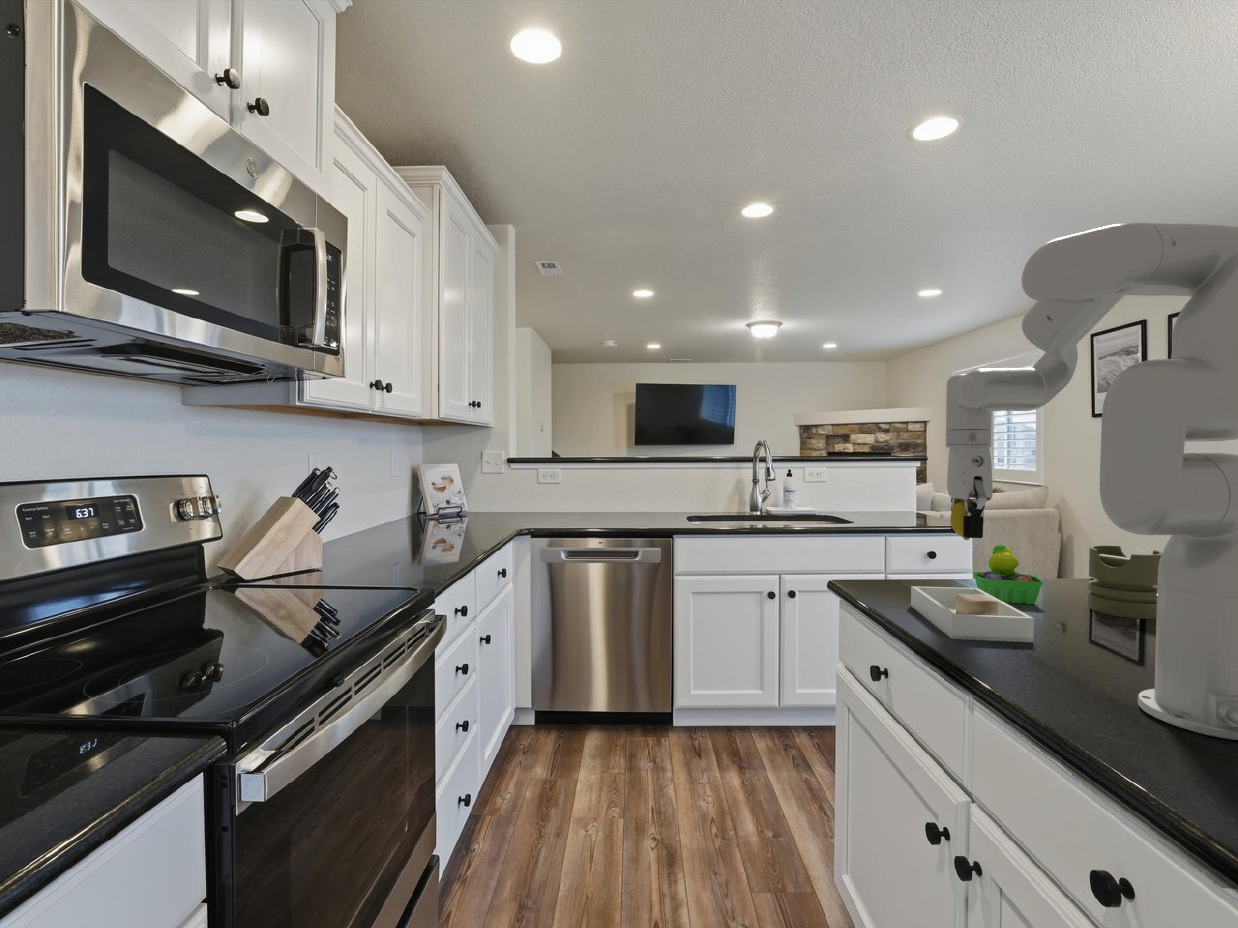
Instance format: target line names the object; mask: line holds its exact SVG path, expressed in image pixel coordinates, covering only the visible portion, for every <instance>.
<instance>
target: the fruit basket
mask: <svg viewBox="0 0 1238 928" xmlns="http://www.w3.org/2000/svg"><path fill="white" fill-rule="evenodd" d="M1019 563H1020V562H1019V559H1018V558H1017V556H1016V555H1015V554H1014V553H1013V551H1012V550H1011V548H1009V547H1007V546H1006V545H1005V544H996V545H995V546H994V547H993V549H992V553H991V555H990V556H989V559H988V567H989V568H990V570H988V571H982V572H981V571H975V572H972V576H973V578H974V580H975V583H976V588H979V589H980V590H982V591H984V592H986V593H988V594H990V595H992V596H993V597H995V598H997V599H999V600H1001V601H1003V602H1005V603H1006V604H1013V603H1025V604H1024V605H1030V604H1035V605H1036V602H1037V600H1038V596H1039V593H1040V590H1041V588H1042V586H1043V584H1044V581H1043V580H1041V578H1038V577H1037V576H1035V575H1034V574H1028V573H1020V572H1016V571H1015V569H1017V567H1019Z"/></svg>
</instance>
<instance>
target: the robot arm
mask: <svg viewBox="0 0 1238 928" xmlns="http://www.w3.org/2000/svg"><path fill="white" fill-rule="evenodd" d="M1021 287H1022V290H1023V292H1024V293H1025V295H1026V296H1027V297H1029V298H1030V299H1032V300H1034V301H1036V302H1035V303H1034V304H1033V306H1032V307H1031V308H1030V309H1029V310H1028V311H1027V313H1026V314H1025V315H1024V317H1023V319H1022V322H1021V330H1022V332H1023V335H1024V336H1025V337H1026V339H1027V340H1028V341H1029V342H1030V343H1031V344H1032V345H1033V346H1035V347H1036V348H1038V349H1039V350H1041V351H1042V352H1044V353H1043V355H1042V356H1041V357H1040V358H1039V359H1038V360H1037V361H1036V363H1034V364H1033V365H1032V366H1030V367H1029V368H1026V367H1025V368H1022V367H1020V368H1019V367H1013V368H1012V367H1001V368H1000V367H999V368H996V367H993V368H992V367H991V368H989V367H986V368H984V367H983V368H977V369H973V370H971V371H970V372H968V373H962V374H954V375H951V376H950V377H949V378H948V379H947V381H946V410H945V412H946V413H945V414H946V415H945V448H949V452H948V461H947V462H948V463H947V473H946V474H947V475H946V477H947V479H946V484H947V485H946V489H947V490H946V492H947V495H948V496H949V497H950V503H951V505H950V511H951V512H952V509H953V507H954V506H955V505H956V504H957V503H958V502H960V501H963V500H964V503H965V512H966V516H964V518H963V536H964V537H965V538H970V539H983V537H984V524H983V516H984V517H985V507H986V503H987V501H988V502H990V501H991V499H993V494H994V493H993V466H992V458H991V457H992V455H991V451H990V448H992V424H993V423H992V419H993V418H992V417H993V414H992V412H1003V411H1004V412H1010V411H1011V412H1030V411H1035V410H1038V409H1040V408H1042V407H1043V406H1045V405H1047V404H1048V403H1049V402H1051V401H1052V400H1053V399H1054V398H1055V397H1056V396H1057V395H1058V394H1059V393H1060V392H1062V390H1064V389H1065V388H1066V387H1067V385H1068V384H1069V383H1070V381H1071V380H1072V379H1073V376H1074V374H1075V371H1076V368H1077V364H1078V357H1079V353H1078V351H1079V350H1078V347H1077V345H1078V344H1079V343H1080V342H1081V340H1083V338H1085V337H1086V336H1087V334H1089V332H1091V330H1092V329H1093V328H1095V326H1096V325H1097V324H1099V322H1100V321H1101V320H1102V319H1103V318H1104V317H1105V316H1106V315H1107V314H1108V313H1109V312H1110V311H1111V310H1112V309H1113V308H1114V307H1115V306H1116V305H1117V304H1118V303H1119V302H1120V301H1121V299H1123V298H1124V297H1125V296H1149V297H1150V296H1151V297H1154V296H1156V297H1157V296H1161V297H1163V296H1167V297H1168V296H1174V297H1175V296H1177V297H1178V296H1179V297H1180V296H1182V297H1190V298H1189V300H1188V301H1187V302H1186V303H1185V305H1184V306H1182V309H1181V311H1180V312H1179V314H1178V316H1177V317H1176V319H1175V322H1174V326H1173V329H1172V335H1171V338H1172V339H1171V340H1172V343H1171V344H1172V346H1171V347H1172V348H1171V355H1170V358H1163V359H1162V358H1161V359H1160V358H1159V359H1149V360H1148V359H1147V360H1144V361H1140V362H1137V363H1134V364H1132V365H1130V366H1128V367H1127V368H1125V369H1124V370H1122V371H1121V372H1120V373H1119V374H1118V375H1117V376H1116V377H1115V378H1114V380H1113V381H1112V383H1111V384H1110V385H1109V387H1108V390H1107V391H1106V394H1105V397H1104V401H1103V404H1102V411H1101V412H1102V414H1101V426H1100V427H1101V429H1100V430H1101V431H1100V456H1099V457H1100V459H1099V460H1100V461H1099V493H1100V494H1099V496H1100V501H1101V504H1102V505H1101V506H1102V508H1103V510H1104V512H1105V515H1106V516H1107V518H1108V519H1109V520H1110V521H1111V522H1112V523H1113V524H1114V525H1115V526H1116V527H1117V528H1120V529H1121V530H1123V531H1126V532H1129V533H1131V534H1136V535H1144V536H1170V538H1169V539H1168V541H1167V542H1166V545H1165V546H1164V548H1163V551H1162V552H1163V553H1162V555H1161V558H1160V562H1159V568H1158V585H1156V587H1157V616H1156V619H1155V621H1156V622H1155V632H1156V633H1155V657H1154V658H1155V660H1154V661H1155V662H1154V688H1151V689H1150V688H1149V689H1144V690H1142V691H1140V692H1139V693H1138V694H1137V704H1138V706H1139V708H1141V710H1143V711H1144V712H1146V714H1148V715H1150V716H1152V717H1154V718H1155V719H1157V720H1160V721H1162V722H1163V723H1164V722H1165V723H1166V724H1169V725H1171V726H1175V727H1177V728H1181V729H1185V730H1187V731H1190V732H1194V733H1198V734H1201V735H1202V734H1203V735H1206V736H1211V737H1215V738H1220V739H1227V740H1231V741H1232V740H1233V741H1238V454H1236V453H1235V454H1234V453H1225V452H1224V453H1223V452H1185V443H1186V442H1189V443H1190V442H1194V443H1195V442H1200V443H1202V442H1226V441H1235V440H1238V226H1233V225H1219V224H1208V223H1207V224H1206V223H1204V224H1203V223H1202V224H1201V223H1164V222H1163V223H1161V222H1160V223H1159V222H1158V223H1157V222H1125V223H1123V222H1122V223H1116V224H1110V225H1106V226H1103V227H1102V226H1101V227H1098V228H1093V229H1091V230H1090V229H1089V230H1087V231H1084V232H1083V231H1082V232H1079V233H1075V234H1070V235H1066V236H1062V237H1058V238H1055V239H1052V240H1050V241H1048V242H1046V243H1044V244H1043V245H1041V246H1040V247H1039V248H1038V249H1036V250H1035V251H1034V252H1033V253H1032V255H1031V256H1030V257H1029V258H1028V260H1027V262H1026V263H1025V265H1024V268H1023V271H1022V275H1021ZM970 503H973V504H972V506H971V508H970ZM950 532H951V533H953V534H956V533H955V531H954V530H953V529H952V526H951V525H950Z"/></svg>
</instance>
